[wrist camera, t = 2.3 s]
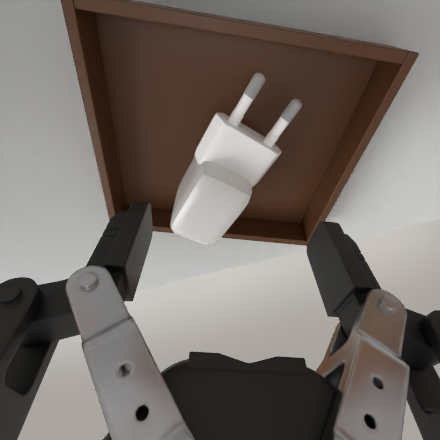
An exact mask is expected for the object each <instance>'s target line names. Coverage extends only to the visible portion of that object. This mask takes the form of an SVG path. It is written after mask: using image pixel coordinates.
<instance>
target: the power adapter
mask: <svg viewBox="0 0 440 440" xmlns="http://www.w3.org/2000/svg"><path fill="white" fill-rule="evenodd" d="M264 83H265V77H264V75H263V74H262V73H259V72H258V73H255V74H254V75H253V77H252V79H251V80H250V82H249V84H248V86H247V87H246V89H245V91H244V94H243V95H242V97H241V99H240V101H239V102H238V104H237V106H236V108H235V109H234V110H233V111H232V113H231V115H230V116H228V115H226V114H224V113H216V114H215V116H214V117H213V119H212V121H211V123H210V125H209V127H208V128H207V130H206V132H205V134H204V136H203V138H202V140H201V141H200V143H199V145H198V147H197V149H196V151H195V156H194V158H193V160H192V162H191V164H190V166H189V167H188V169H187V171H186V173H185V175H184V177H183V179H182V181H181V183H180V185H179V187H178V190H177V194H176V198H175V203H174V207H173V212H172V217H171V223H170V226H171V229H172V230H173V232H174V233H176V234H178V235H180V236H183V237H185V238H188V239H191V240H193V241H196V242H199V243H202V244H205V245H211V244H214V243H216V242H217V241H218V240H219V239H220V238H221V237H222V236H223V235H224V233H225V232H226V231H227V230H228V229H229V227H230V226H231V225H232V224H233V222H234V221H235V220H236V219H237V218H238V216H239V215H240V214H241V212H242V211H243V210H244V208H245V207H246V206H247V204H248V203H249V200H250V197H251V194H252V187H253V186H255V185H256V184H257V183H258V182H259V181H260V179H261V178H262V177H263V176H264V174H265V173H266V172H267V171H268V169H269V168H270V167H271V166H272V164H273V163H274V162H275V160H276V159H277V158H278V157H279V155H280V154H281V153H282V152H281V150H280V149H279V148H278V147H277V146H276V145H275V142H276V141H277V140H278V137H279V136H280V135H281V133H282V132H283V131H284V129H285V128H286V127H287V125H288V124H289V123H290V122H291V121H292V120H293V118H294V117H295V116H296V114H297V113H298V112H299V110H300V109H301V107H302V102H301V101H300V100H299V99H293V100H291V102H290V103H289V105H288V106H287V107H286V109H285V110H284V112H283V113H282V114H281V117H280V118H279V120H278V121H277V122H276V124H275V125H274V127H273V128H272V129H271V131H269V133H268V134H267V135H266V137H264V136H262V135H261V134H259V133H257V132H256V131H254V130H252V129H251V128H249V127H247V126H246V125H244V124H242V123H241V120H242V119H243V117H244V114H245V113H246V111H247V109H248V108H249V106H250V105H251V103H252V101H253V100H254V99H255V97H256V96H257V94H258V93H259V91H260V89H261V88H262V86H263V85H264Z"/></svg>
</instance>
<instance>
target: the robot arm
mask: <svg viewBox="0 0 440 440" xmlns="http://www.w3.org/2000/svg"><path fill="white" fill-rule="evenodd" d="M152 231H153V226H152V213H151V204H150V203H148V202H138V201H133V202H132V203H131V205H130V207H129V210H128V212H124V211H119V212H118V213H117V214H116V215H114V216H113V217H112V218H111V219H110V221H109V223H108V225H107V227H106V229H105V231H104V233H103V236H102V237H101V238H100V240H99V242H98V244H97V246H96V248H95V250H94V252H93V254H92V256H91V258H90V260H89V262H88V263H87V265H86V267H84V268H81V269H79V270H78V271H76V272H75V273H73V274H72V275H71V276H70V278H69V279H66V280H63V281H58V282H52V283H47V284H42V285H37V284H36V282H35V281H34V280H32V279H30V278H24V277H21V278H14V279H10V280H8V281H5V282H3V283H1V284H0V440H17V438H18V436H19V434H20V431H21V429H22V426H23V424H24V422H25V419H26V417H27V415H28V412H29V410H30V408H31V405H32V403H33V400H34V398H35V396H36V393H37V391H38V389H39V386H40V384H41V382H42V379H43V377H44V374H45V372H46V370H47V367H48V365H49V363H50V360H51V358H52V355H53V353H54V351H55V348H56V346H57V344H58V341H59V340H60V339H64V338H68V337H72V336H76V335H81V339H82V348H83V352H84V355H85V359H86V362H87V364H88V368H89V371H90V374H91V377H92V380H93V383H94V386H95V390H96V392H97V396H98V399H99V402H100V405H101V408H102V411H103V414H104V417H105V421H106V423H107V427H108V430H109V433H108V434H107V436H105V438H104V439H103V440H402V432H403V424H404V415H405V407H406V399H407V401H408V404H409V406H410V409H411V411H412V413H413V416H414V418H415V421H416V423H417V425H418V428H419V430H420V433H421V435H422V437H423V440H440V378H439V376H438V375H437V373H436V371H435V369H434V367H433V366H434V365H436V364H439V363H440V311H437V310H436V311H433V312H431V313H430V314H428V315H427V316H424V315H422V314H419V313H416V312H414V311H411V310H408V309H405V307H404V305H403V304H402V303H401V301H399V300H398V299H397V298H396V297H395V296H394V295H392V294H391V293H389V292H387V291H384V290H382V289H381V288H380V286H379V284H378V282H377V280H376V279H375V277H374V275H373V273H372V271H371V270H370V268H369V266H368V264H367V262H366V261H365V259H364V257H363V255H362V254H361V251H360V250H359V248H358V246H357V244H356V243H355V242H354V241H353V240H352V239H351V238H350V237H349V236H348V235H347V234H344V232H343V230H342V228H341V227H340V225H339V224H338V223H334V222H325V221H321V222H319V224H318V225H317V227H316V229H315V231H314V233H313V235H312V236H311V238H310V240H309V242H308V244H307V255H308V258H309V261H310V264H311V267H312V270H313V273H314V276H315V279H316V282H317V285H318V288H319V291H320V294H321V297H322V300H323V303H324V306H325V309H326V312H327V315H328V316H331V317H339V320H340V323H339V324H338V325H337V327H336V330H335V332H334V334H333V337H332V339H331V342H330V344H329V347H328V349H327V352H326V354H325V357H324V359H323V361H322V363H321V364H320V366H319V367H318V369H317V370H316V372H315V371H314V370H312V369H310V368H307V367H306V363H305V359H304V358H292V357H274V358H270V359H266V360H262V361H258V362H254V363H245V362H242V361H239V360H237V359H234V358H231V357H228V356H225V355H222V354H219V353H204V352H190V354H189V359H187V360H183V361H180V362H178V363H175V364H173V365H171V366H170V367H168V368H166V369H165V370H164V371H162V372H161V373H160V371H159V369H158V367H157V365H156V363H155V361H154V359H153V357H152V355H151V353H150V351H149V349H148V346H147V344H146V343H145V340H144V338H143V336H142V334H141V332H140V330H139V328H138V326H137V324H136V322H135V320H134V319H133V317H132V316H130V314H129V313H128V311H127V308H126V306H125V304H124V301H133V298H134V295H135V292H136V288H137V285H138V282H139V278H140V275H141V272H142V268H143V265H144V262H145V258H146V255H147V252H148V249H149V245H150V242H151V238H152Z"/></svg>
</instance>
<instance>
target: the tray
mask: <svg viewBox="0 0 440 440" xmlns="http://www.w3.org/2000/svg"><path fill="white" fill-rule="evenodd" d="M61 4H62V8H63V13H64V17H65V22H66V26H67V31H68V35H69V40H70V44H71V49H72V53H73V58H74V62H75V67H76V71H77V76H78V80H79V85H80V89H81V94H82V98H83V103H84V107H85V112H86V116H87V121H88V125H89V130H90V134H91V139H92V143H93V147H94V152H95V156H96V161H97V165H98V170H99V174H100V179H101V183H102V188H103V192H104V197H105V201H106V206H107V210H108V215H109V219H111V218H112V217H113V216H114V215H116V214H117V213H118V212H119V211H124V212H128V210H129V207H130V205H131V203H132V202H133V201H138V202H148V203H150V204H151V213H152V226H153V231H158V232H169V233H174V232H173V230H172V229H171V226H170V223H171V217H172V212H173V207H174V203H175V198H176V194H177V190H178V187H179V185H180V183H181V181H182V179H183V177H184V175H185V173H186V171H187V169H188V167H189V166H190V164H191V162H192V160H193V158H194V156H195V151H196V149H197V147H198V145H199V143H200V141H201V140H202V138H203V136H204V134H205V132H206V130H207V128H208V127H209V125H210V123H211V121H212V119H213V117H214V116H215V114H216V113H224V114H226V115H228V116H230V115H231V113H232V111H233V110H234V109H235V108H236V106H237V104H238V102H239V101H240V99H241V97H242V95H243V94H244V91H245V89H246V87H247V86H248V84H249V82H250V80H251V79H252V77H253V75H254V74H255V73H258V72H259V73H262V74H263V75H264V77H265V83H264V85H263V86H262V88H261V89H260V91H259V93H258V94H257V96H256V97H255V99H254V100H253V101H252V103H251V105H250V106H249V108H248V109H247V111H246V113H245V114H244V117H243V119H242V120H241V123H242V124H244V125H246V126H247V127H249V128H251V129H252V130H254V131H256V132H257V133H259V134H261V135H262V136H264V137H266V135H267V134H268V133H269V131H271V129H272V128H273V127H274V125H275V124H276V122H277V121H278V120H279V118H280V117H281V114H282V113H283V112H284V110H285V109H286V107H287V106H288V105H289V103H290V102H291V100H293V99H299V100H300V101H301V102H302V107H301V109H300V110H299V112H298V113H297V114H296V116H295V117H294V118H293V120H292V121H291V122H290V123H289V124H288V125H287V127H286V128H285V129H284V131H283V132H282V133H281V135H280V136H279V137H278V140H277V141H276V142H275V145H276V146H277V147H278V148H279V149H280V150H281V152H282V153H281V154H280V155H279V157H278V158H277V159H276V160H275V162H274V163H273V164H272V166H271V167H270V168H269V169H268V171H267V172H266V173H265V174H264V176H263V177H262V178H261V179H260V181H259V182H258V183H257V184H256V185H255V186H253V187H252V194H251V197H250V200H249V203H248V204H247V206H246V207H245V208H244V210H243V211H242V212H241V214H240V215H239V216H238V218H237V219H236V220H235V221H234V222H233V224H232V225H231V226H230V227H229V229H228V230H227V231H226V232H225V233H224V235H223V236H222V238H232V239H243V240H253V241H264V242H274V243H285V244H295V245H306V246H307V244H308V242H309V240H310V238H311V236H312V235H313V233H314V231H315V229H316V227H317V225H318V224H319V222H321V221H325V219H326V218H327V216H328V214H329V212H330V211H331V209H332V207H333V205H334V204H335V202H336V200H337V198H338V197H339V195H340V193H341V191H342V189H343V188H344V186H345V184H346V182H347V181H348V179H349V177H350V175H351V174H352V172H353V170H354V168H355V166H356V165H357V163H358V161H359V159H360V158H361V156H362V154H363V152H364V151H365V149H366V147H367V145H368V143H369V142H370V140H371V138H372V136H373V135H374V133H375V131H376V129H377V128H378V126H379V124H380V122H381V120H382V119H383V117H384V115H385V113H386V112H387V110H388V108H389V106H390V105H391V103H392V101H393V99H394V97H395V96H396V94H397V92H398V90H399V89H400V87H401V85H402V83H403V82H404V80H405V78H406V76H407V74H408V73H409V71H410V69H411V67H412V66H413V64H414V62H415V60H416V59H417V57H418V55H419V53H417V52H413V51H409V50H405V49H401V48H397V47H393V46H387V45H382V44H376V43H370V42H365V41H359V40H353V39H348V38H342V37H336V36H331V35H325V34H319V33H314V32H308V31H302V30H297V29H291V28H285V27H280V26H274V25H268V24H263V23H257V22H251V21H246V20H240V19H234V18H229V17H223V16H217V15H212V14H206V13H200V12H195V11H189V10H183V9H178V8H172V7H166V6H161V5H155V4H149V3H144V2H138V1H133V0H61Z"/></svg>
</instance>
